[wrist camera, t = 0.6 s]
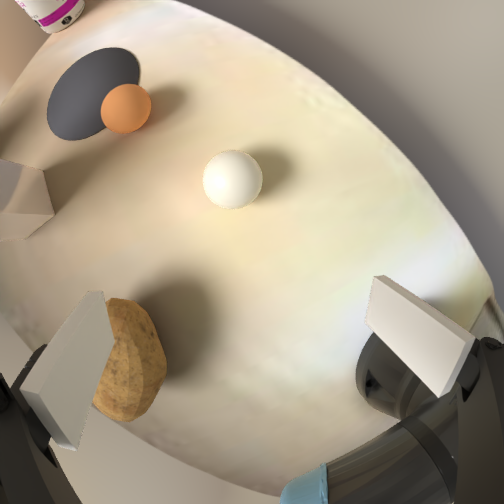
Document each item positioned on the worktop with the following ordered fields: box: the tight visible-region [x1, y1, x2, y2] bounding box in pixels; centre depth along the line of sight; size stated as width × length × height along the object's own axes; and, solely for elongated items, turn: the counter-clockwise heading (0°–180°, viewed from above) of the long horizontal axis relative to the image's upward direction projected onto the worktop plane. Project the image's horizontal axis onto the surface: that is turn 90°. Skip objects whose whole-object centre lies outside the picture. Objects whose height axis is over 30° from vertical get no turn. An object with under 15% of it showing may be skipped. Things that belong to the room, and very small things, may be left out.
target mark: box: [47, 48, 139, 140], centre depth 24 cm, size 14×14×1 cm
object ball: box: [101, 84, 151, 134], centre depth 23 cm, size 6×6×6 cm
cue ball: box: [203, 150, 263, 209], centre depth 24 cm, size 6×6×6 cm
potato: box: [92, 298, 167, 422], centre depth 24 cm, size 10×14×8 cm
